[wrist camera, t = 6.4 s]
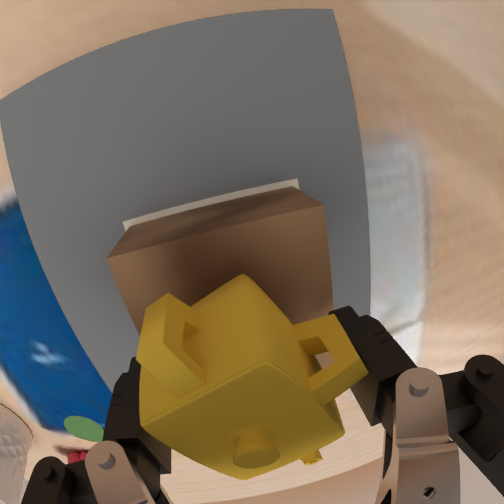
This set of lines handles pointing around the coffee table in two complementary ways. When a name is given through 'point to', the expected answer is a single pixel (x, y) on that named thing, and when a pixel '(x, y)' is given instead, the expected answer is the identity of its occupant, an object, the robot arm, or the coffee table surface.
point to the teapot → (242, 380)
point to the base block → (231, 255)
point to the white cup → (12, 455)
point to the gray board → (184, 151)
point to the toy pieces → (82, 433)
